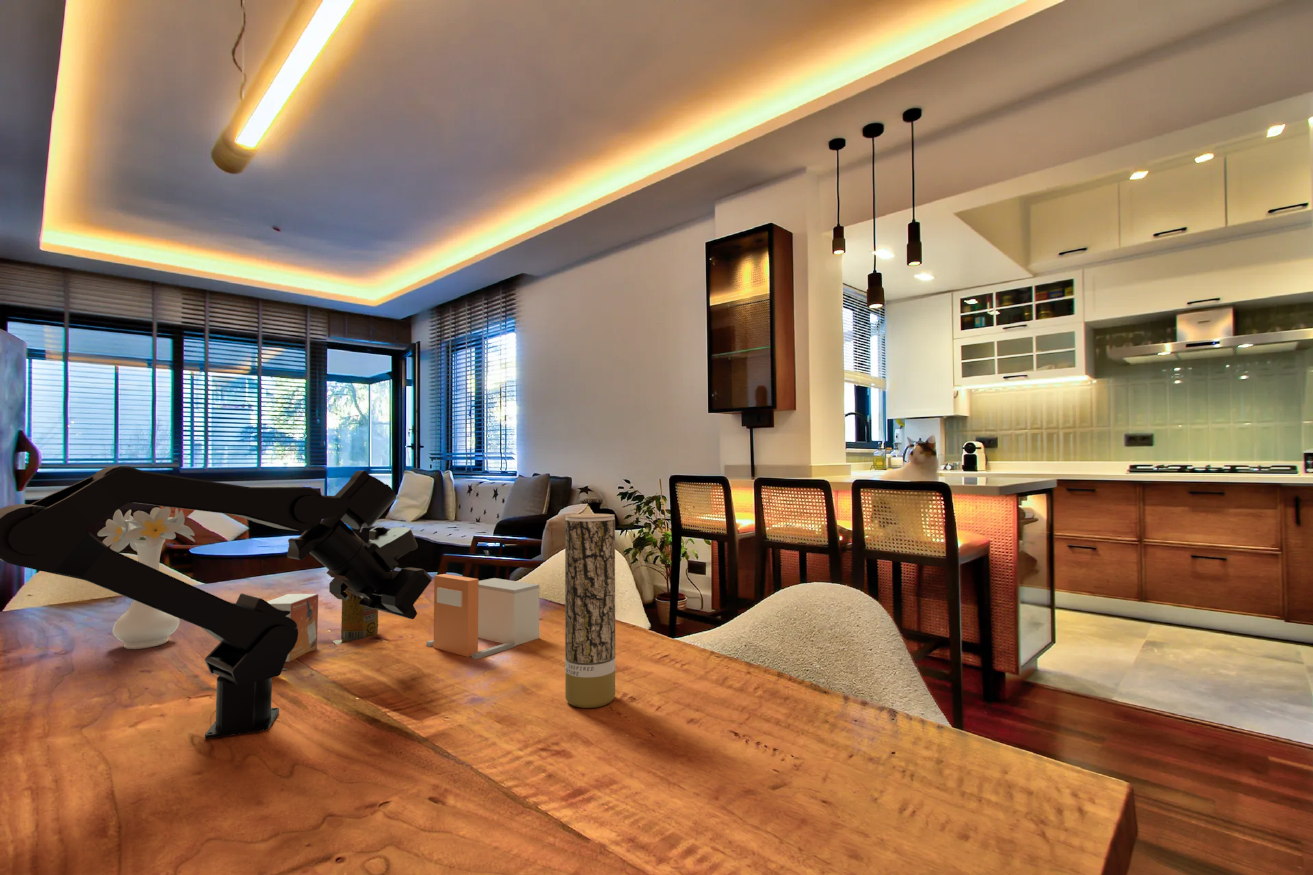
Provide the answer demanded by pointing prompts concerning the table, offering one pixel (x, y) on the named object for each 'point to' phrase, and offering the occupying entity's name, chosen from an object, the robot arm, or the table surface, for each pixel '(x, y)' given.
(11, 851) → the table surface
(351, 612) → the condiment
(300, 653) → the small box
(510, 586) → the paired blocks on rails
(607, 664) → the paper tube
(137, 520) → the flower vase
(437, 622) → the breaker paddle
